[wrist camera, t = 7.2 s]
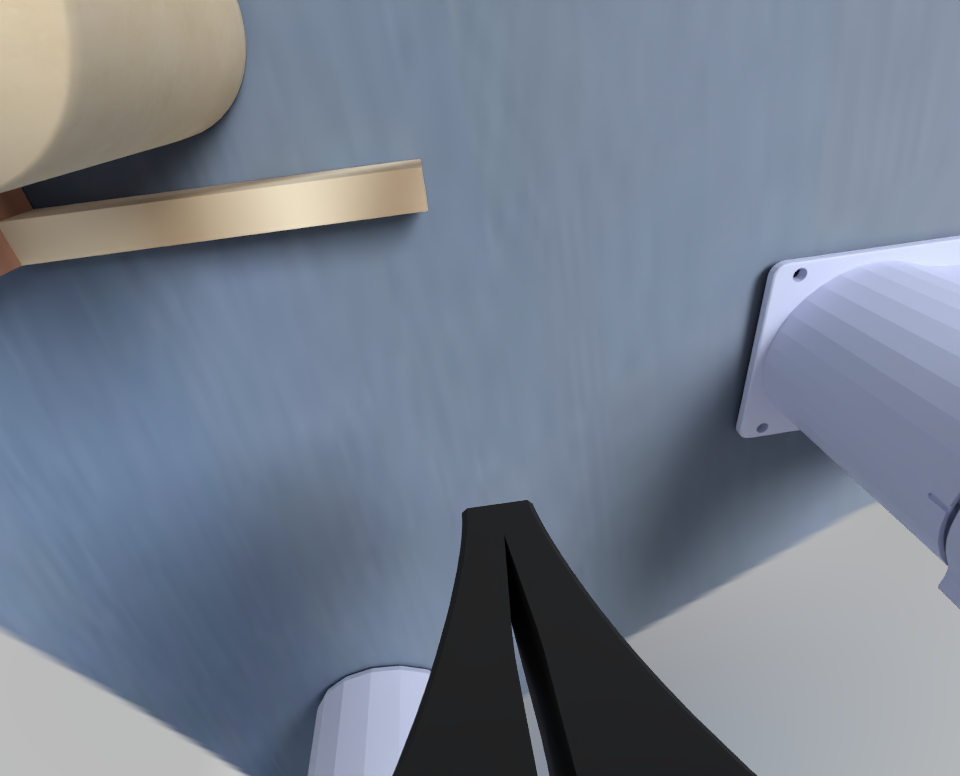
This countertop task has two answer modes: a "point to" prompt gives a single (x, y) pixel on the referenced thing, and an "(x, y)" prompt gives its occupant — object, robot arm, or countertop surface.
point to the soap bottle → (366, 722)
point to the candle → (110, 79)
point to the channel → (205, 213)
